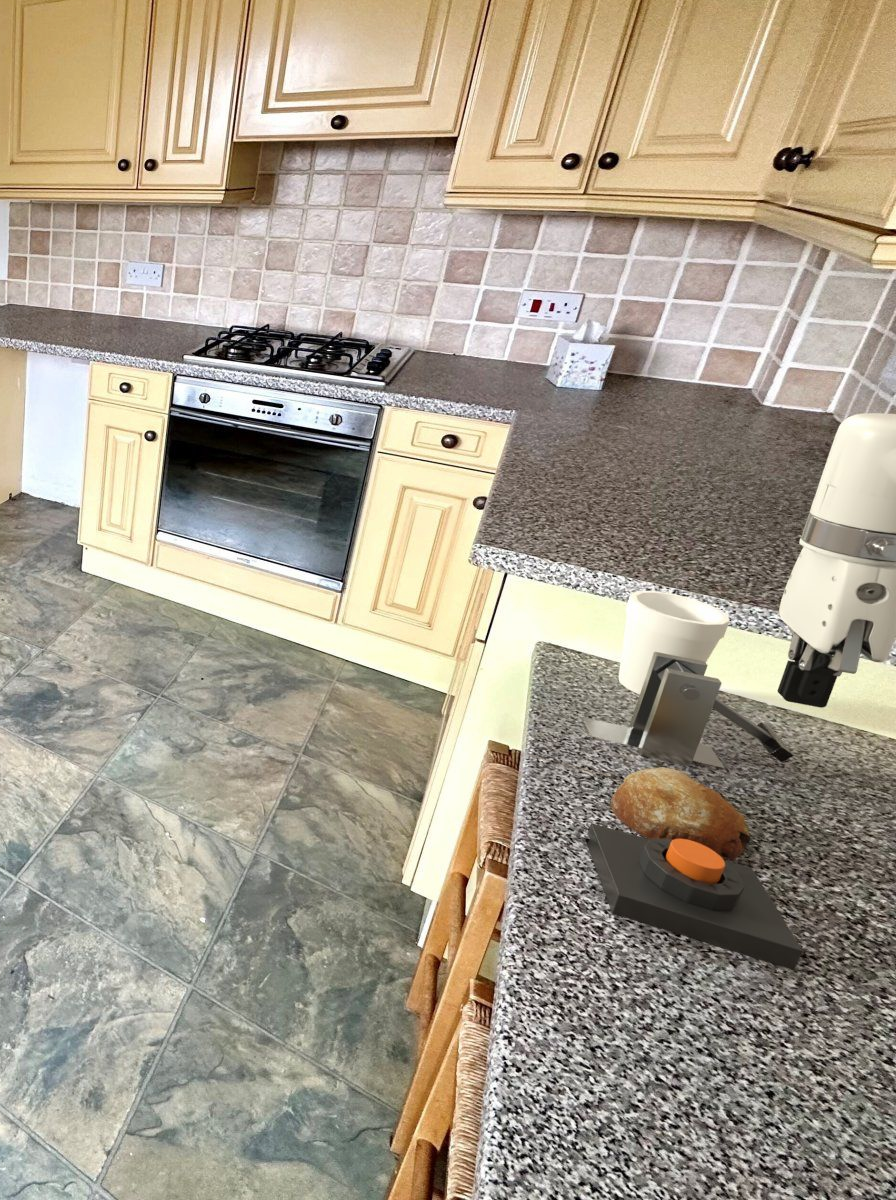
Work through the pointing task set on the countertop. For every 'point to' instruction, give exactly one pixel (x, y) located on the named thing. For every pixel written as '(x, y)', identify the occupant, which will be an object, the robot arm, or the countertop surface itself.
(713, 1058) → the countertop surface
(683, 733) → the metal lever bracket
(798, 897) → the countertop surface
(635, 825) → the bread roll
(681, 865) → the button
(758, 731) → the lever
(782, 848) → the countertop surface
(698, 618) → the foam cup
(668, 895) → the control block
